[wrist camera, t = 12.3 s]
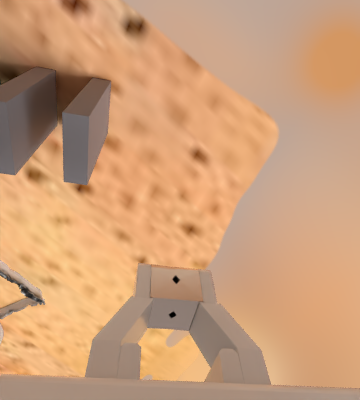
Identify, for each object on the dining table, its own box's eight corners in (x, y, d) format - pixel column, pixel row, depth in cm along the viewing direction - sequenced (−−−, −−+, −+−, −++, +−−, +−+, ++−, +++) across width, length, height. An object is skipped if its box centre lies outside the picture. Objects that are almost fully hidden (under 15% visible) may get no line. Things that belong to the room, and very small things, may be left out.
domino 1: (39, 121, 28) (-10, 171, 20) (36, 66, 25) (-24, 97, 17) (57, 124, 28) (15, 175, 20) (55, 70, 26) (6, 102, 17)
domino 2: (91, 130, 29) (63, 181, 21) (92, 77, 26) (62, 112, 18) (107, 133, 29) (87, 184, 21) (111, 80, 26) (89, 116, 18)
